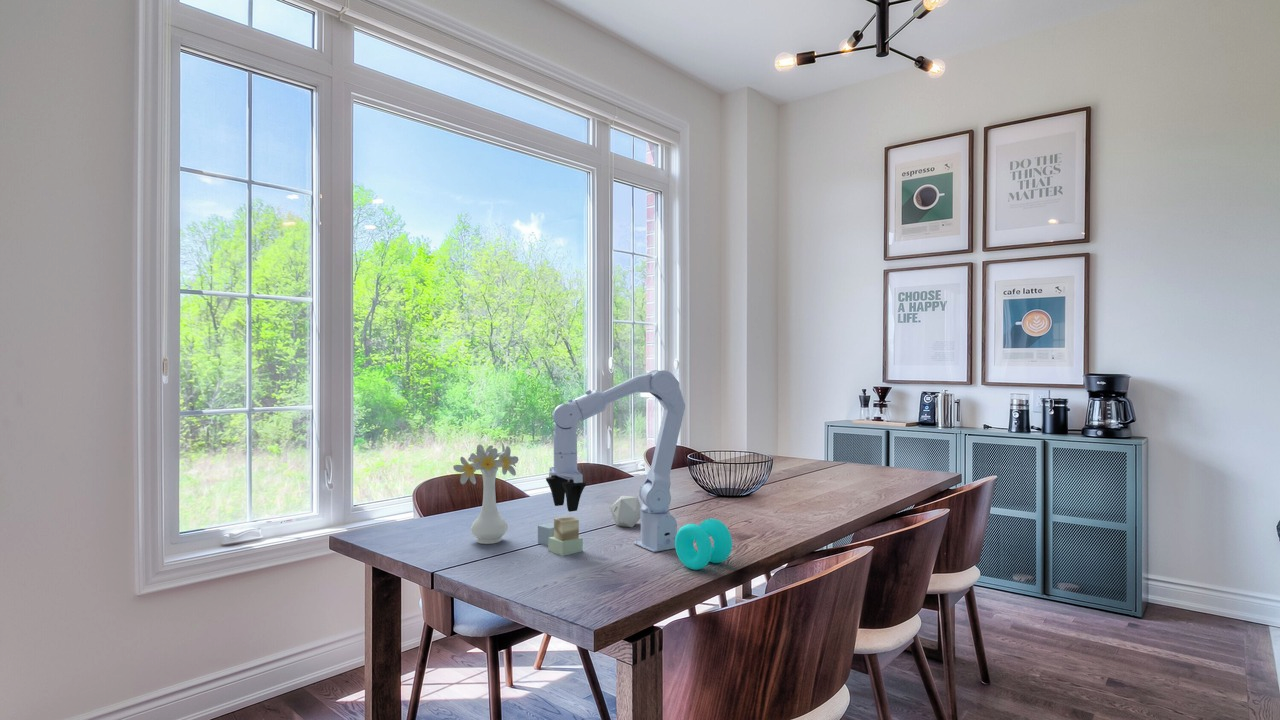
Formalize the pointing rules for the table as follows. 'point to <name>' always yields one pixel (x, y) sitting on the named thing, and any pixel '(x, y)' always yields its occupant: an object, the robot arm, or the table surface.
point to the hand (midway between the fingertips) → (565, 508)
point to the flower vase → (488, 490)
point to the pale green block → (565, 546)
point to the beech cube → (566, 528)
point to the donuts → (703, 543)
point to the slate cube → (545, 533)
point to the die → (626, 511)
